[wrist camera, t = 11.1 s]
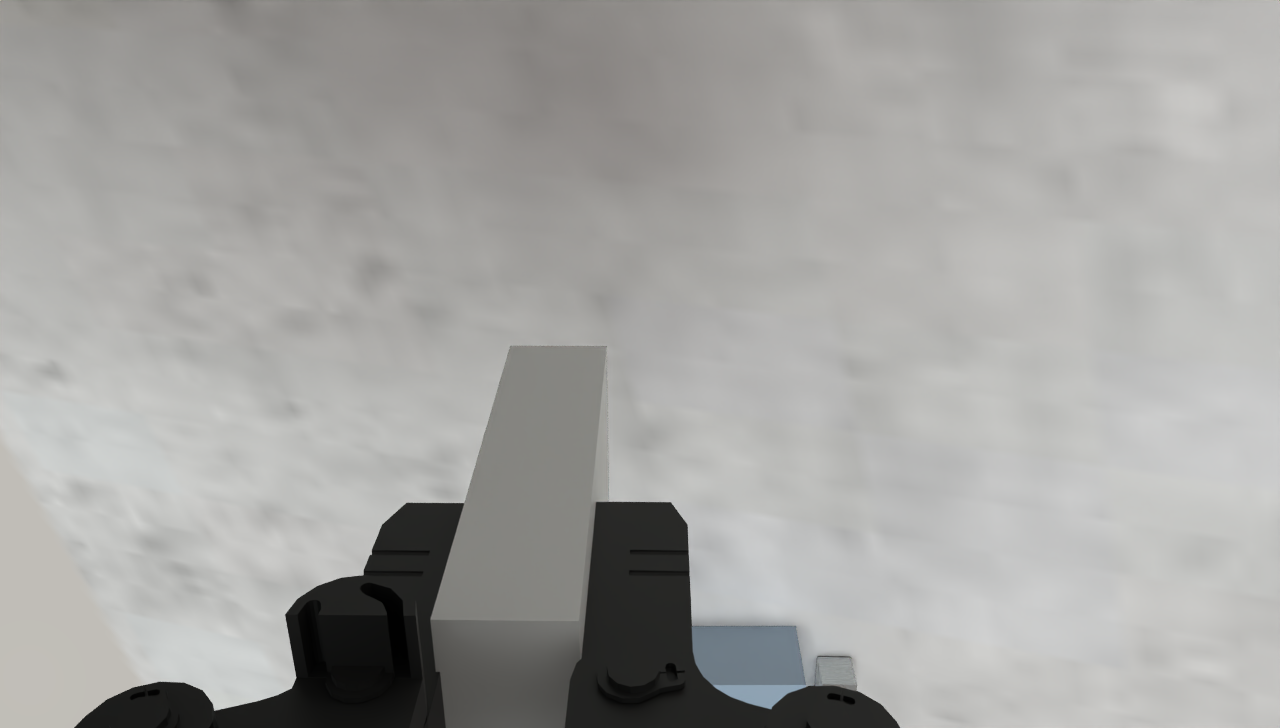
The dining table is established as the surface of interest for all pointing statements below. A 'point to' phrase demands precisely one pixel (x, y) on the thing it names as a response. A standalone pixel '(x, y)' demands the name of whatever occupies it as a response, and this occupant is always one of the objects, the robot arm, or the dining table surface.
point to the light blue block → (750, 661)
